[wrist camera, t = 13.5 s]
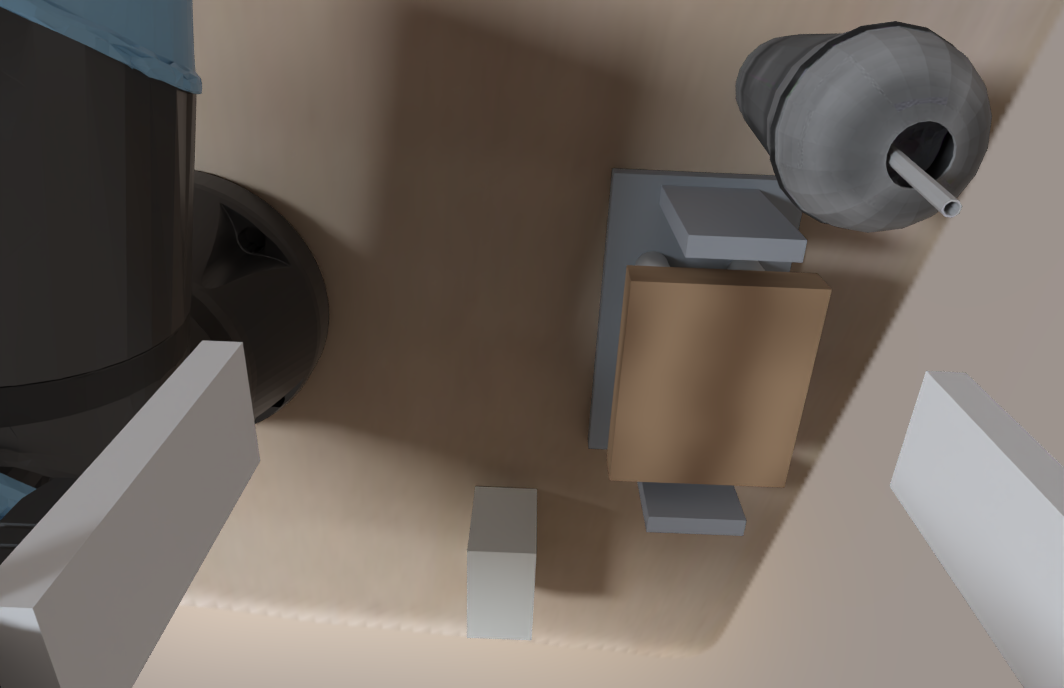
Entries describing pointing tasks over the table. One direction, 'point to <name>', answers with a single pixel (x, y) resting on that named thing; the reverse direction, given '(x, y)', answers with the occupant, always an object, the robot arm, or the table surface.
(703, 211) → the cradle
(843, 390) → the table surface
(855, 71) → the beverage cup
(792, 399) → the board
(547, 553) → the table surface
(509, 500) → the grey rectangular block
